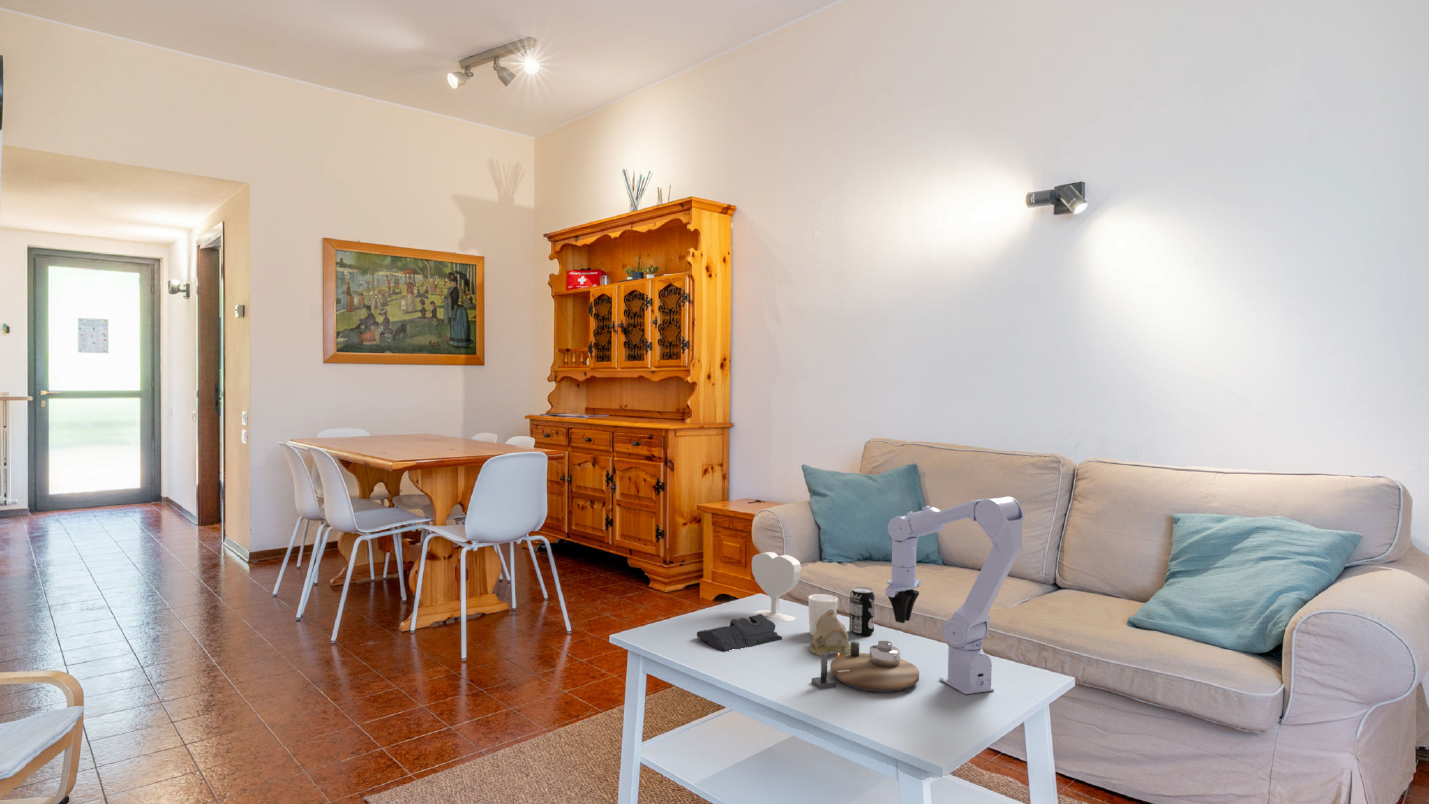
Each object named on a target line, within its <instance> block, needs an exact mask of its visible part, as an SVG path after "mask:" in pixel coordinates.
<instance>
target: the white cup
mask: <svg viewBox="0 0 1429 804" xmlns="http://www.w3.org/2000/svg"><path fill="white" fill-rule="evenodd" d="M807 598H808V624H809V635H810V636H812V637H813V635H814V634H815V633H816V632H817V629H816V624H817V622H818V620H819V619H820V617H821V616H822V615H823V614H825V613H826V612H827V611H829V610H833V611H834V615H835V616H836V617H837V614H838V613H837V612H838V597H837V596H835V595H831V594H826V593H825V594H824V593H814V594H811V595H808V597H807Z"/></svg>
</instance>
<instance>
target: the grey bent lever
mask: <svg viewBox="0 0 1429 804" xmlns="http://www.w3.org/2000/svg"><path fill="white" fill-rule="evenodd" d="M829 658H840V654H839V653H837V652H829V653H821V656H820V676H819V677H811V683H812V684H813V685H814V686H815V687H817V688H818V689H819V690H822V689H823V690H824V689H830V688H836V687H837V682H836V681H835V680H834V679H832V678H831V677H829V676H828V659H829Z"/></svg>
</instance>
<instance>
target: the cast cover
mask: <svg viewBox="0 0 1429 804" xmlns="http://www.w3.org/2000/svg"><path fill="white" fill-rule="evenodd" d="M869 653H870V663H871V664H873V665H875V666H879V667H886V668H892V667H897V666H899V665H900V659H901V649H900V648H898V647H896V646H894V645H893V642H891V641H889V640H879V641H878V642H877V644H875V645H871V646H870V647H869Z"/></svg>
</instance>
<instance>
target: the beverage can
mask: <svg viewBox="0 0 1429 804" xmlns="http://www.w3.org/2000/svg"><path fill="white" fill-rule="evenodd" d="M875 599H876V597H875V594H874V589H873V588H870V587H867V586H866V587H865V586H854V587H852V588H851V592H850V594H849V621H848V622H849V624H848V625H849V626H848V628H849V629H848V630H849V632H850V633H851V634H853V635H854V636H859V637H868V636H871V635H872V634H873V633H874V631H875V630H874V629H875Z"/></svg>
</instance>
